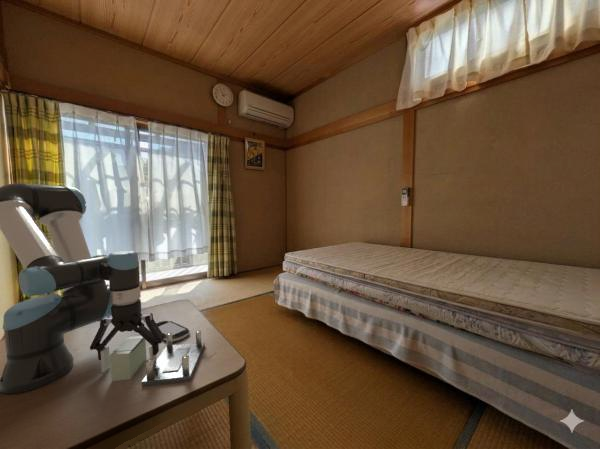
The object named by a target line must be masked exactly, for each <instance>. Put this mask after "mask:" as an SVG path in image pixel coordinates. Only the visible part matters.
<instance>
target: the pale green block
mask: <svg viewBox="0 0 600 449" xmlns="http://www.w3.org/2000/svg"><path fill="white" fill-rule="evenodd" d="M146 346H147V344H146V340H145V339H144V338H143V337H142V336H141V335H138V336H129V337H127V338H126V339H124V341H122V343H121V344H120V345H119V346H117V347H116V348H115V350H113V351H112V353H110V354H109V355H110V375H111V379H110V380H111V382H117V381H126V380H131V379H132V377H133V376H134V375H135V374H136V372H137V371H138V370H139V369H140V367H141V366H142V365H143V363H144V362H146V360H147V347H146Z"/></svg>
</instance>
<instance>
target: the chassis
mask: <svg viewBox="0 0 600 449" xmlns="http://www.w3.org/2000/svg"><path fill="white" fill-rule="evenodd" d="M165 342H166V346H165V347H164V349H163V350H162V352H161V353H160V354H159V356H158V357H157V358H156V362H155V363H154V365H153V359H150V358H149V359H146V360H145V371H146V373H145V374H146V375H145V377H143V379H142V380H141V387H151V386H159V385H167V384H169V385H170V384H176V383H185V382H191V381H192V378H193V375H194V373H195V370H196V368H197V366H198V363H199V360H200V358H201V357H202V354H203V351H204V349H205V344H206V343H205V341H203V340H202V330H196V331H195V342H194V343H193V342H192V343H183V344H182V343H181V344H173V342H172V333H168V334H166V341H165Z"/></svg>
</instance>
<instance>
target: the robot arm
mask: <svg viewBox="0 0 600 449" xmlns="http://www.w3.org/2000/svg"><path fill="white" fill-rule="evenodd" d="M86 202H87V201H86V199H85V196H84V194H83V193H82V191H80V190H79V189H78V188H76V187H73V186H66V185H62V184H59V185H54V184H53V185H52V184H51V185H49V184H37V183H36V184H35V183H23V182H18V183H17V182H14V183H9V184H5V185H2V186H0V231H1V233H2V235H3V236H4V238H5V239H6V241H7V243H8V244H9V245H10V247H11V249H12V251H13V252H14V255H16V257H17V259H18V260H19V262H20V264H21V265H22V266H23V268H24V269H22V270H20V272H19V273H18V284H19V285H18V286H19V288H20V291H21V293H22V294H23V295H24V296H27V297H32V298H29V299H26V300H22V301H20V302H18V303H16V304H14V305H12V306H11V307H9V308H8V309H7V310H6V311H4V314H3V324H2V329H3V332H4V343H5V344H4V345H5V352H6V353H5V354H6V363H5V364H4V368H3V370H2V374H1V377H0V393H1V392H2V393H1V394H4V393H5V394H6V395H13V394H20V393H21V394H22V393H25V392H28V391H32V390H34V389H35V390H36V389H39V388H40V387H43V386H45V385H47V384H49V383H52V382H54V381H56V380H58V379H59V378H61V377H62V376H64V375H66V374H67V373H68V372H69V371H70V370H71V369H72V368H73V366H74V357H73V354H72V353H71V352H70V351H69V348H68V346H67V345H66V342H65V337H64V336H65V335H64V334H66V333H68V332H69V333H70V332H73V331H74V330H75V331H76V329H77V330H78V329H81V328H83V327H85V326H88V325H90V324H94V323H96V322H97V323H98V322H99V328H98V329H97V332H96V334H95V336H94V337H93V340H92V342H91V345H90V346H89V350H90V351H92V350H96V351H97V359H98V361H100V364H101V366H100V367H101V373H105V372H106V371H107V370H108V369H109V368H111V364H110V355H111V354H110V346H108V344H109V343H110V341H112V339H113V338H114V337H115V335H116V334H117V333H118V332H120V333H123V332H124V333H125V332H135V333H138V334H139V336H142V337H143V338H144V339H145V342H146V341H147V343H148V344H149V345H150V346H148V350H149V352H148V353H149V359H153V365H154V363H155V362H156V360H157V354H158V353H159V352H160V348H159V344H162V343H163V342H164V341H165V340H164V339H165V337H164V335H163V333H162V332H161V330H160V329H159V327H158V326H157V324H156V320H154V315H153V313H152V312H149V313H148V314H144V315H143V314H142V299H141V297H142V294H141V281H140V280H141V278H140V261H139V255H138V252H137V251H135V250H120V251H115V252H111V253H109V254H108V255H106V254H101V255H99V254H97V255H93V256H91V252H90V249H89V247H88V244H87V241H86V238H85V236H84V232H83V229H82V226H81V223H80V220H81V219H82V218H83V215H84V214H85V212H86V211H87V205H86ZM35 218H37V219H38V221H39V223H40V224H41V225H43V226H46V227H47V230H48V233H49V235H50V236H49V237H50V238H51V241H50V239H49V238H48V237H47V235H46V233H45V232H44V231H43V229H42V228H41V226H40V225H39V223H38V222H37V221H36V219H35ZM106 281H108V282H109V284H107V283H106ZM61 290H63V291H62V292H61V294H62V296H61V295H60V294H59V293H53V292H58V291H61ZM45 294H46V295H45ZM142 321H143V322H142ZM110 324H112V325H113V326H114V327H113V328H112V330H110V332H109V334H108V335H107V336H106V337H105V338H104V335H105V333H106V331H107V329H108V327H109V325H110ZM145 325H146V326H147V327H146V326H145ZM149 330H150V331H151V332H150V331H149ZM103 338H104V339H103ZM102 339H103V340H102ZM101 341H102V342H101Z"/></svg>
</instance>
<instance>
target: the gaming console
mask: <svg viewBox="0 0 600 449" xmlns="http://www.w3.org/2000/svg"><path fill="white" fill-rule="evenodd" d="M156 324H157V326H158V327H159V329H160V330H161V332H162V333H163V335H164V337H165V339H164V340H163V341H165V342H166V334H168V333H172V343H177V342H180V341H182V340H184V339H185V338H187V337H189V335H190V330H189V328H187V327H185V326H183V325H182V324H179V323H176V322H174V321H172V320H170V321H168V320H162V321H159V322H157V323H156ZM148 330H149V329H148ZM149 331H150V330H149ZM150 332H151V331H150Z"/></svg>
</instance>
